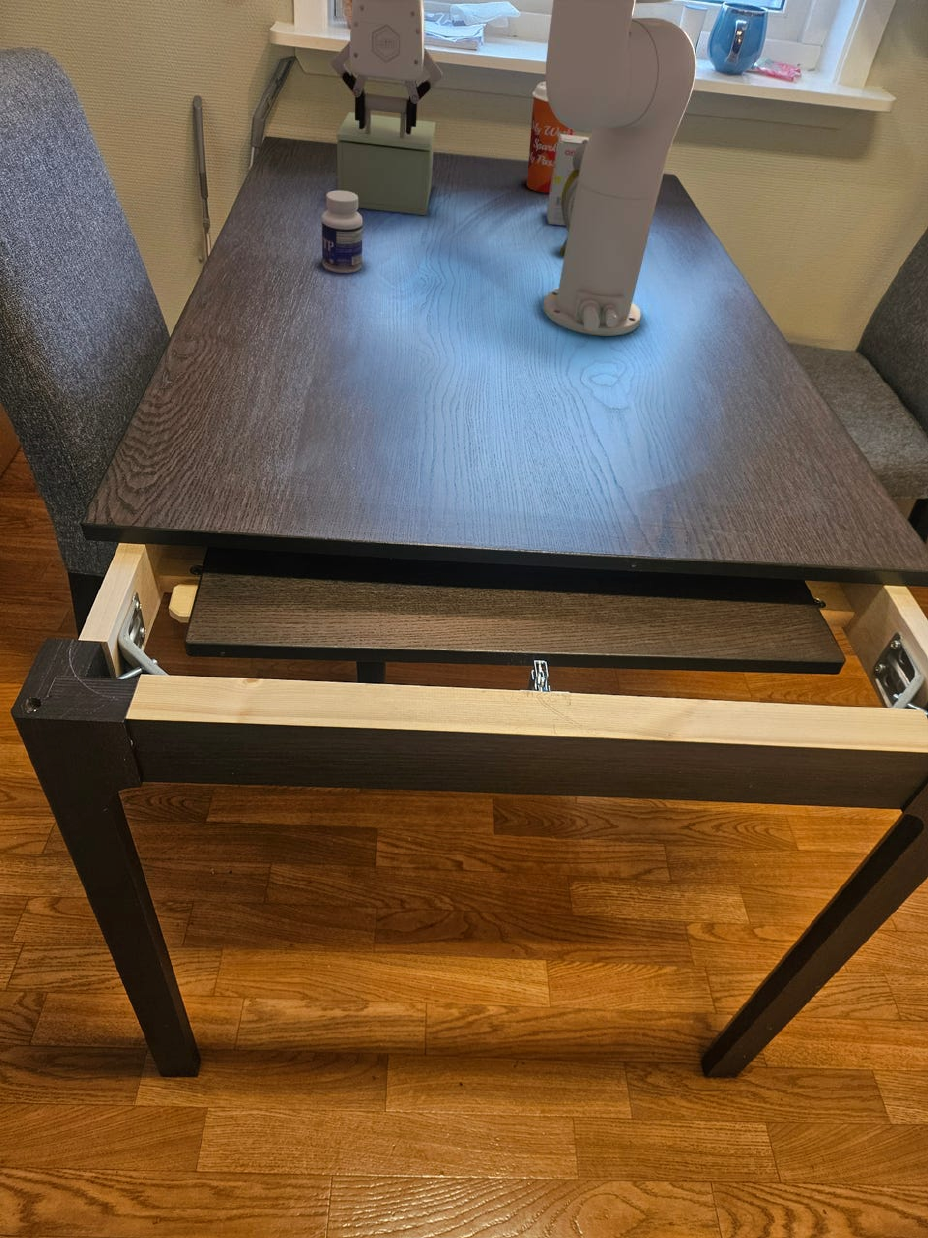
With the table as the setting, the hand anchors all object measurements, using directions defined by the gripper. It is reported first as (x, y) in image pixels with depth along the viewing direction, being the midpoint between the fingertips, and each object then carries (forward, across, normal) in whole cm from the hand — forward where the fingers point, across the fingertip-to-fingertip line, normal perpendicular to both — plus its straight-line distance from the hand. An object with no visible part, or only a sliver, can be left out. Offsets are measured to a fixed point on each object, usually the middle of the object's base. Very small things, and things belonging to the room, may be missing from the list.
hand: (385, 127), depth 123 cm
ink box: (+11, +30, +3) cm, 32 cm away
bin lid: (+2, 0, +5) cm, 5 cm away
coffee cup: (+11, +26, +19) cm, 34 cm away
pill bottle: (+11, -3, -25) cm, 27 cm away
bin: (+11, 0, +5) cm, 12 cm away
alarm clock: (+11, +32, -10) cm, 35 cm away
